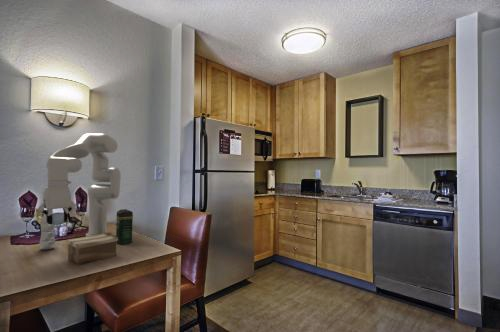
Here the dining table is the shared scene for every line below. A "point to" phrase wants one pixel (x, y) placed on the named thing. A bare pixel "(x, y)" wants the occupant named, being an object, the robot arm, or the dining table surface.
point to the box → (91, 253)
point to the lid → (93, 240)
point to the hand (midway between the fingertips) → (57, 222)
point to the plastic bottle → (46, 234)
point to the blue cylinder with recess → (57, 218)
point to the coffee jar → (124, 226)
